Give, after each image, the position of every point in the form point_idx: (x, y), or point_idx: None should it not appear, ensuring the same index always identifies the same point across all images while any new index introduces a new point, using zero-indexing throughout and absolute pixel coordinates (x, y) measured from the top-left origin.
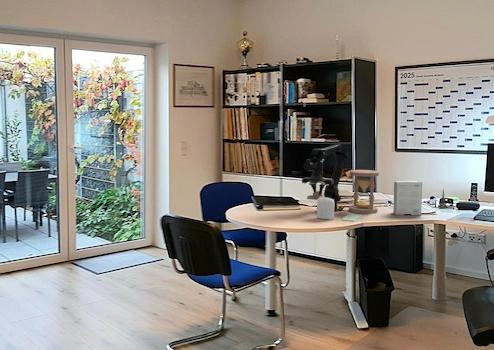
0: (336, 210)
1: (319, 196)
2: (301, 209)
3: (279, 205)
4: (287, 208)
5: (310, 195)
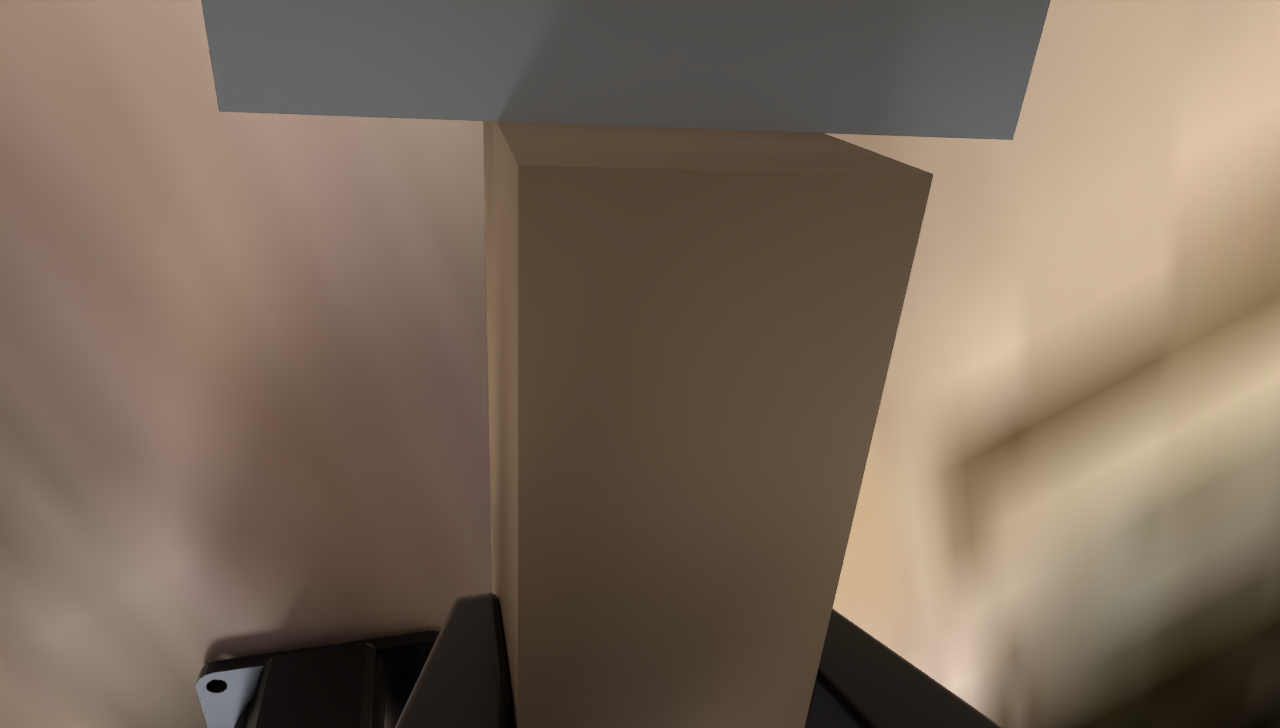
0: (199, 693)
1: (493, 578)
2: (926, 474)
3: (1271, 570)
4: (1169, 427)
5: (976, 88)
